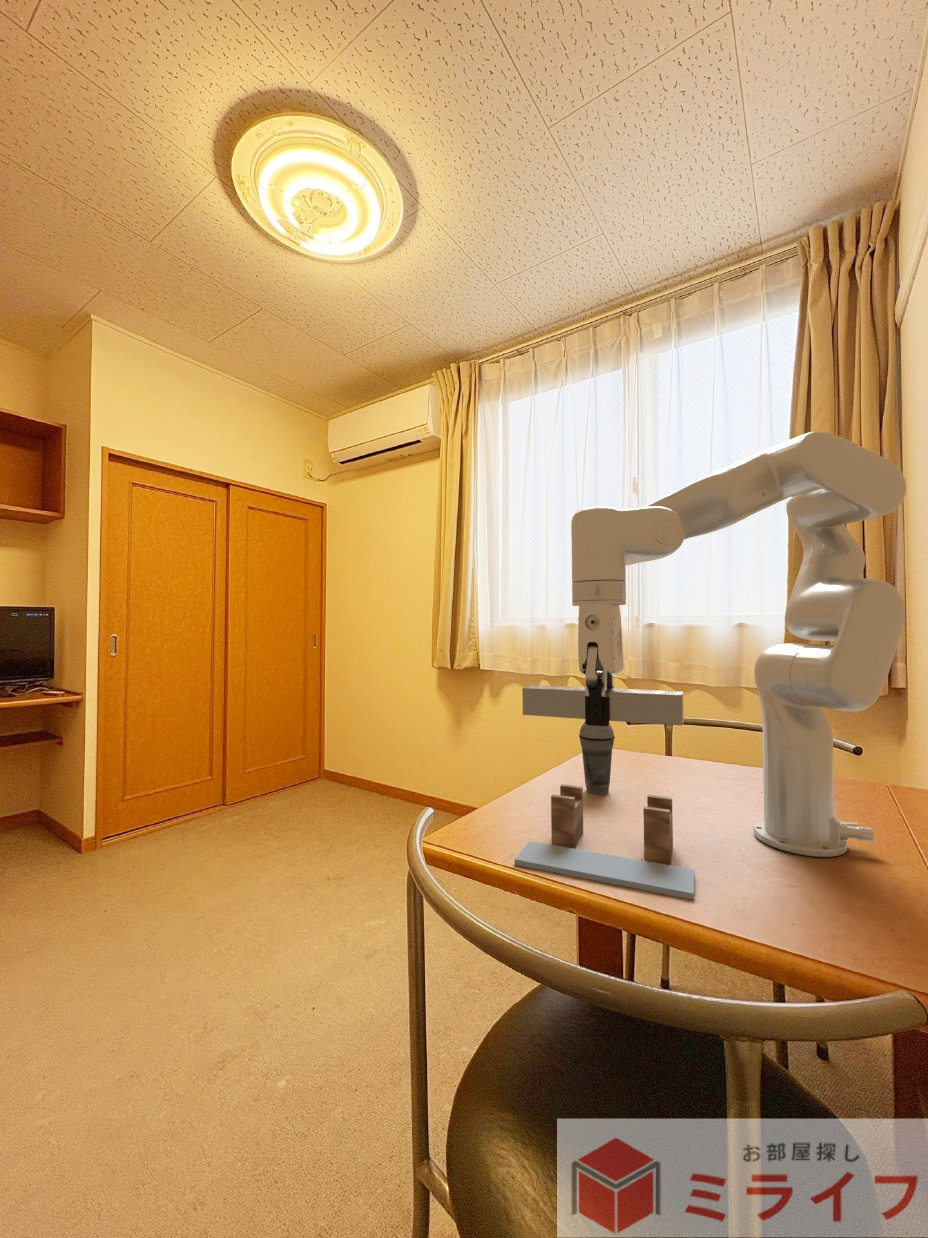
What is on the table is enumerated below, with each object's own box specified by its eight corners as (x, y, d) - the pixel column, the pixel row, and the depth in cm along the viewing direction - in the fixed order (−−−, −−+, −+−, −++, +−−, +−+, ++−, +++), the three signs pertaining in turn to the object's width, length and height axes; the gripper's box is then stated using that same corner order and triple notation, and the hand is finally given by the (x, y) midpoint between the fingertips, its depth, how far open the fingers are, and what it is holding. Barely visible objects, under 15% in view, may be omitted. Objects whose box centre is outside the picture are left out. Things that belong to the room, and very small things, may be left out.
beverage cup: (609, 799, 103) (608, 699, 103) (574, 793, 107) (573, 697, 107) (619, 789, 109) (618, 695, 109) (586, 784, 113) (585, 693, 113)
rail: (683, 720, 71) (683, 691, 71) (682, 725, 68) (681, 695, 68) (530, 710, 81) (530, 685, 81) (522, 714, 77) (522, 688, 77)
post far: (583, 833, 87) (582, 786, 87) (574, 849, 81) (573, 799, 81) (562, 829, 88) (561, 784, 88) (551, 845, 82) (551, 796, 82)
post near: (672, 847, 81) (672, 797, 81) (670, 866, 75) (669, 812, 75) (648, 843, 82) (647, 794, 82) (644, 861, 76) (643, 808, 76)
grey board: (694, 875, 72) (694, 869, 72) (693, 900, 66) (693, 893, 66) (529, 846, 82) (529, 840, 82) (514, 864, 76) (514, 859, 76)
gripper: (616, 591, 65) (618, 736, 65) (633, 596, 80) (634, 714, 80) (558, 593, 68) (559, 731, 68) (584, 598, 84) (586, 711, 83)
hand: (600, 721), depth 74 cm, fingers closed on rail, 4 cm apart
